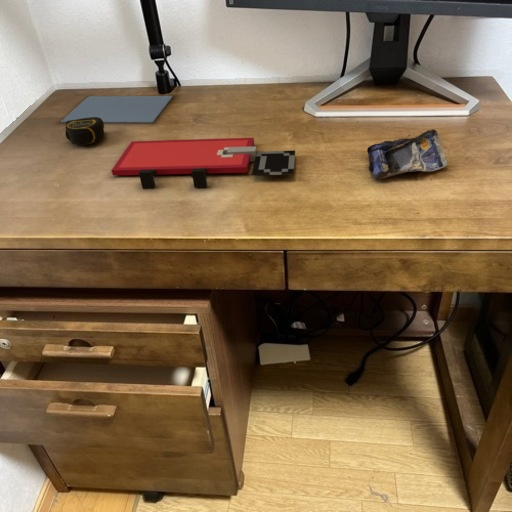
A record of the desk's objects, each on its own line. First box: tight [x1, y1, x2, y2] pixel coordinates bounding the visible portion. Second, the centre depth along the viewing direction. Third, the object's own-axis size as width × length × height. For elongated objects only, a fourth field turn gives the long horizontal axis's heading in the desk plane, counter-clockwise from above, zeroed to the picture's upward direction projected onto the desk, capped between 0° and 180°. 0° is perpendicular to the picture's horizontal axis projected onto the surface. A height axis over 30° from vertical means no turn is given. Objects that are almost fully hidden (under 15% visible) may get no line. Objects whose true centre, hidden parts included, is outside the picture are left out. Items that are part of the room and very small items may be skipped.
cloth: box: [60, 95, 174, 124], centre depth 106 cm, size 20×14×1 cm
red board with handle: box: [110, 137, 296, 190], centre depth 82 cm, size 30×3×15 cm
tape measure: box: [65, 117, 105, 146], centre depth 93 cm, size 7×7×4 cm
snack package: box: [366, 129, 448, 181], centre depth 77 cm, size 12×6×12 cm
